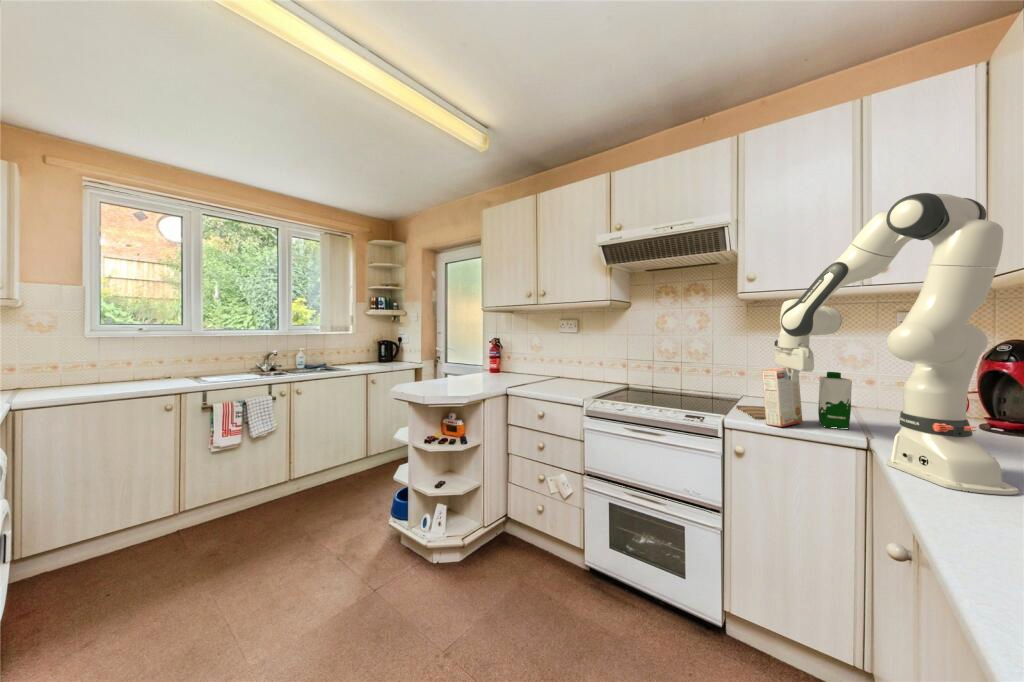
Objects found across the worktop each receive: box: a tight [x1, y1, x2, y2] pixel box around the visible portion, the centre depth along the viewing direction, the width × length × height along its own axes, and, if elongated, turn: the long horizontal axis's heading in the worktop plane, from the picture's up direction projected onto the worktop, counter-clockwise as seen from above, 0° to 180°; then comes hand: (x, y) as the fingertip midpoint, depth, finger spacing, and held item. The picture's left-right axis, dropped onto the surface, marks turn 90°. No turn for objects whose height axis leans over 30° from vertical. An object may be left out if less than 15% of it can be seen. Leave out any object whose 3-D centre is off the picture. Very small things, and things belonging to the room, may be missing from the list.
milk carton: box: [817, 371, 853, 430], centre depth 138 cm, size 9×9×20 cm
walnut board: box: [735, 405, 766, 420], centre depth 158 cm, size 20×16×1 cm
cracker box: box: [761, 367, 803, 428], centre depth 142 cm, size 14×6×21 cm, turn 115°
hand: (792, 380), depth 137 cm, fingers closed
